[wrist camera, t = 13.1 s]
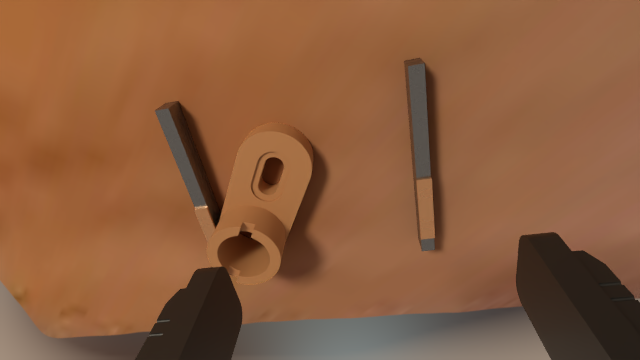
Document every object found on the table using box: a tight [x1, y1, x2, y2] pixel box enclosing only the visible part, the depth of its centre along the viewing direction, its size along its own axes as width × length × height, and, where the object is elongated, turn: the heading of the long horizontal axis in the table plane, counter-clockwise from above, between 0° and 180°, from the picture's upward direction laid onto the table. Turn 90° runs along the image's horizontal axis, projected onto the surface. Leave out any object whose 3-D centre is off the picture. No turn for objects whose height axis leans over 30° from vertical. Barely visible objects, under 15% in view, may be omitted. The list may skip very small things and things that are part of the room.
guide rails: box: [155, 58, 435, 251], centre depth 42 cm, size 22×27×3 cm
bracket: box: [207, 123, 314, 285], centre depth 42 cm, size 18×8×7 cm, turn 161°
